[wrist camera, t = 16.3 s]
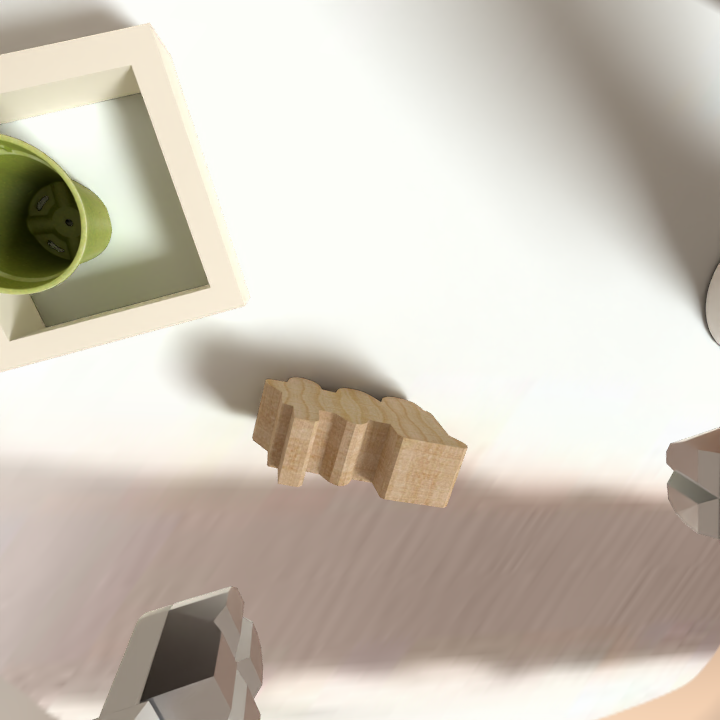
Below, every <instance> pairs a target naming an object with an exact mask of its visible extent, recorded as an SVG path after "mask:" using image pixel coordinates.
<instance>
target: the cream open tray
mask: <svg viewBox="0 0 720 720" xmlns="http://www.w3.org/2000/svg"><path fill="white" fill-rule="evenodd" d="M137 93H141V94H142V96H143V99H144V102H145V105H146V108H147V111H148V113H149V116H150V119H151V122H152V125H153V127H154V130H155V133H156V136H157V139H158V141H159V144H160V147H161V150H162V153H163V155H164V158H165V161H166V164H167V167H168V169H169V172H170V175H171V178H172V181H173V184H174V186H175V189H176V192H177V195H178V198H179V200H180V203H181V206H182V209H183V212H184V214H185V217H186V220H187V223H188V226H189V228H190V231H191V234H192V237H193V240H194V242H195V245H196V248H197V251H198V254H199V257H200V259H201V262H202V265H203V268H204V271H205V273H206V276H207V279H208V282H209V284H208V285H205V286H201V287H197V288H193V289H190V290H186V291H182V292H178V293H174V294H171V295H167V296H163V297H159V298H156V299H152V300H148V301H144V302H140V303H137V304H133V305H129V306H125V307H122V308H118V309H114V310H110V311H107V312H103V313H99V314H95V315H91V316H88V317H84V318H80V319H76V320H73V321H69V322H65V323H61V324H57V325H54V326H50V327H45V325H44V323H43V321H42V319H41V317H40V315H39V313H38V311H37V309H36V307H35V304H34V302H33V300H32V298H31V296H30V294H22V295H12V294H3V293H0V372H4V371H7V370H11V369H15V368H18V367H22V366H26V365H29V364H33V363H37V362H40V361H44V360H48V359H52V358H55V357H59V356H63V355H66V354H70V353H74V352H77V351H81V350H85V349H88V348H92V347H96V346H99V345H103V344H107V343H111V342H114V341H118V340H122V339H125V338H129V337H133V336H136V335H140V334H144V333H147V332H151V331H155V330H159V329H162V328H166V327H170V326H173V325H177V324H181V323H184V322H188V321H192V320H195V319H199V318H203V317H206V316H210V315H214V314H218V313H221V312H225V311H229V310H232V309H236V308H240V307H243V306H245V305H246V303H247V302H248V300H249V299H250V295H249V292H248V289H247V286H246V283H245V280H244V277H243V274H242V271H241V268H240V265H239V262H238V259H237V256H236V252H235V249H234V246H233V243H232V240H231V237H230V234H229V231H228V228H227V225H226V222H225V219H224V216H223V213H222V210H221V207H220V204H219V201H218V198H217V195H216V192H215V189H214V186H213V183H212V180H211V177H210V174H209V170H208V167H207V164H206V161H205V158H204V155H203V152H202V149H201V146H200V143H199V140H198V137H197V134H196V131H195V128H194V125H193V122H192V119H191V116H190V113H189V110H188V107H187V104H186V101H185V98H184V95H183V92H182V88H181V85H180V82H179V79H178V76H177V73H176V70H175V67H174V64H173V61H172V58H171V55H170V53H169V52H168V50H167V48H166V47H165V45H164V44H163V42H162V41H161V39H160V38H159V36H158V35H157V33H156V32H155V30H154V29H153V27H152V25H151V24H150V23H147V24H142V25H137V26H133V27H128V28H123V29H119V30H114V31H109V32H104V33H100V34H95V35H90V36H86V37H81V38H76V39H72V40H67V41H62V42H58V43H53V44H48V45H43V46H39V47H34V48H29V49H25V50H20V51H15V52H11V53H6V54H1V55H0V124H4V123H9V122H13V121H17V120H22V119H26V118H31V117H35V116H40V115H44V114H48V113H53V112H57V111H62V110H66V109H71V108H75V107H79V106H84V105H88V104H93V103H97V102H102V101H106V100H110V99H115V98H119V97H124V96H128V95H132V94H137Z"/></svg>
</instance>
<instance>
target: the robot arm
mask: <svg viewBox="0 0 720 720" xmlns="http://www.w3.org/2000/svg"><path fill="white" fill-rule="evenodd" d="M706 318H707V323H708V327H709V330H710V332H711V334H712V336H713V338H714V339H715V341H716V342H717V343H718V344H719V345H720V263H719V265H718V266H717V268H716V270H715V272H714V275H713V277H712V280H711V282H710V286H709V289H708V294H707V300H706ZM666 463H667V464H668V465H669V466H670V467H671V468H672V469H673V470H674V472H673V474H672V476H671V477H670V479H669V481H668V483H667V490H668V499H669V501H670V503H671V505H672V507H673V509H674V511H675V513H676V514H677V515H678V517H679V518H680V519H681V520H682V521H683V522H684V523H685V524H686V525H687V526H689V527H690V528H691V529H693V530H694V531H695V532H697V533H698V534H701V535H704V536H708V537H711V538H714V539H718V541H719V543H720V427H719V428H715V429H712V430H709V431H706V432H703V433H700V434H697V435H694V436H691V437H688V438H685V439H682V440H679V441H676V442H673V443H670V445H669V447H668V449H667V451H666ZM243 609H244V601H243V599H242V597H241V595H240V593H239V591H238V588H236V587H233V586H231V587H228V588H224V589H221V590H218V591H214V592H211V593H208V594H204V595H201V596H198V597H194V598H191V599H187V600H184V601H181V602H177V603H175V604H174V605H169V606H166V607H163V608H159V609H156V610H153V611H150V612H146V613H144V614H143V615H142V616H141V617H140V618H139V619H138V621H137V623H136V626H135V628H134V631H133V633H132V636H131V638H130V641H129V643H128V646H127V648H126V651H125V653H124V656H123V658H122V661H121V663H120V666H119V668H118V671H117V673H116V676H115V678H114V681H113V683H112V686H111V688H110V691H109V693H108V696H107V698H106V701H105V703H104V706H103V708H102V711H101V714H100V716H99V718H96V719H93V720H260V712H259V710H258V708H257V706H256V703H255V701H254V698H255V696H256V694H257V693H258V691H259V689H260V688H261V686H262V677H263V663H262V653H261V645H260V642H259V638H258V634H257V631H256V629H255V626H254V624H253V622H252V621H250V620H248V619H246V618H244V617H243Z"/></svg>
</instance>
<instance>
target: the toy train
mask: <svg viewBox="0 0 720 720" xmlns="http://www.w3.org/2000/svg"><path fill="white" fill-rule="evenodd" d="M252 438H253V440H254V441H255V442H256V443H258V444H259V445H260V446H261V447H263V448H264V449H265V450H267V451H268V461H267V465H268V466H269V467H274V468H278V484H283V485H289V486H295V487H299V486H301V485H302V483H303V479H304V476H305V472H311V473H316V474H320V475H321V476H322V477H323V478H325V479H326V480H327V481H328V482H330V483H332V484H335V485H337V486H344V485H346V484H348V483H349V482H350V481H351V479H353V480H359V481H365V482H372V483H373V485H374V487H375V489H376V491H377V493H378V495H379V496H380V497H381V498H383V499H387V500H393V501H400V502H407V503H414V504H421V505H428V506H435V507H442V508H444V507H446V506H447V503H448V501H449V498H450V495H451V492H452V489H453V487H454V484H455V481H456V478H457V476H458V473H459V470H460V467H461V464H462V462H463V459H464V456H465V453H466V450H467V445H466V444H464V443H463V442H461V441H459V440H457V439H455V438H453V437H451V436H449V435H448V434H447V433H446V431H445V430H444V429H443V428H442V426H441V425H440V424H439V423H438V421H437V420H436V419H435V418H434V416H433V415H432V414H431V413H429V412H427V411H424V410H422V409H421V407H419V406H418V405H416V404H415V403H412V402H410V401H408V400H405V399H401V398H397V397H384V398H382V401H381V402H380V401H379V400H377V399H375V398H374V397H372V396H370V395H368V394H366V393H365V392H362V391H359V390H355V389H350V388H340V389H338V390H337V391H336V392H331V391H327V390H322V388H321V387H320V385H318V384H317V383H316V382H314V381H311V380H308V379H305V378H299V377H293V378H289V380H288V382H284V381H278V380H273V379H266V381H265V385H264V389H263V393H262V398H261V402H260V406H259V411H258V415H257V419H256V424H255V428H254V432H253V437H252Z"/></svg>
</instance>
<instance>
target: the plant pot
mask: <svg viewBox="0 0 720 720" xmlns="http://www.w3.org/2000/svg"><path fill="white" fill-rule="evenodd" d="M44 196H48V197H49V199H48V200H47V201H46V202H45V204H44V205H43V207H42V209H41V211H38V209H37V205H38V202H39V201H40V200H41V198H43V197H44ZM67 219H69V220H71V221H72V222H73V225H72V226H68V225H67V224H66V223H65V221H66V220H67ZM111 233H112V227H111V222H110V218H109V214H108V211H107V208H106V207H105V205H104V203H103V202H102V201H101V200H100V199H99V197H98V196H97V195H96V194H94V193H93V192H92V191H90V190H89V189H87V188H86V187H84V186H82V185H81V184H79V183H77V182H75V181H73V180H72V179H70V177H69V176H68V175H67V174H66V173H65V171H64V170H63V169H62V168H61V167H60V166H59V165H58V164H57V163H56V162H55V161H54V160H52V159H51V158H50V157H49V156H47V155H46V154H45V153H43V152H42V151H40V150H39V149H37V148H35V147H34V146H32V145H30V144H28V143H26V142H24V141H21V140H19V139H16V138H13V137H11V136H7V135H3V134H0V293H3V294H12V295H22V294H32V293H38V292H42V291H45V290H48V289H50V288H52V287H54V286H56V285H58V284H60V283H61V282H63V281H64V280H65V279H67V278H68V277H69V276H70V275H71V274H72V273H73V272H74V271H75V269H76V268H77V267H78V265H79V264H81V263H84V262H86V261H88V260H91V259H93V258H95V257H96V256H98V255H99V254H101V253H102V252H103V251H104V250H105V248H106V247H107V245H108V243H109V241H110V238H111ZM48 240H50V241H51V242H53V243H54V244H55V245H56V246H58V247H59V248H61V249H63V250H64V252H59V251H57V250H55V249H54V248H52V247H51V246H50V245H49V244H48Z"/></svg>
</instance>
